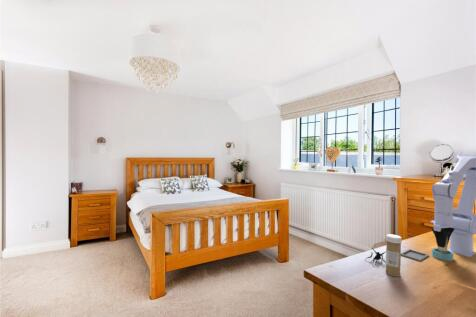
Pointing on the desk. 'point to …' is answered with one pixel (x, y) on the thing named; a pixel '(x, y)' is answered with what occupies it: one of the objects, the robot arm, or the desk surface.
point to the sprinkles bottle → (393, 254)
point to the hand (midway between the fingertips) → (442, 245)
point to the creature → (377, 257)
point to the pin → (443, 250)
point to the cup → (442, 255)
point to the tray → (414, 255)
